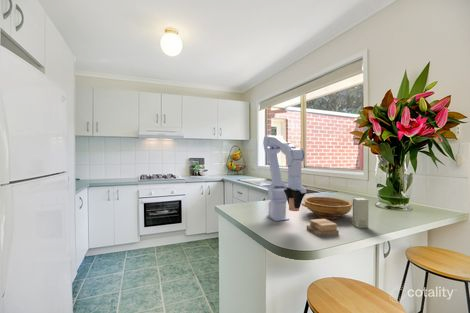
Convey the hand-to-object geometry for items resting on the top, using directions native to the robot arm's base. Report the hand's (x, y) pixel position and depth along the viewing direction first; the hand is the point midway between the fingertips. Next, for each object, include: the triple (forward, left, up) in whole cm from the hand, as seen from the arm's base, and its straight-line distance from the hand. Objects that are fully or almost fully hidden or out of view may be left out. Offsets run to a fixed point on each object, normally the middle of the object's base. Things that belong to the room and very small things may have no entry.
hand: (294, 206), depth 97 cm
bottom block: (+7, +10, -11) cm, 16 cm away
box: (+6, +32, -10) cm, 34 cm away
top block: (+7, +10, -8) cm, 15 cm away
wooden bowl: (-13, +30, -10) cm, 34 cm away
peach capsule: (0, 0, -2) cm, 2 cm away
